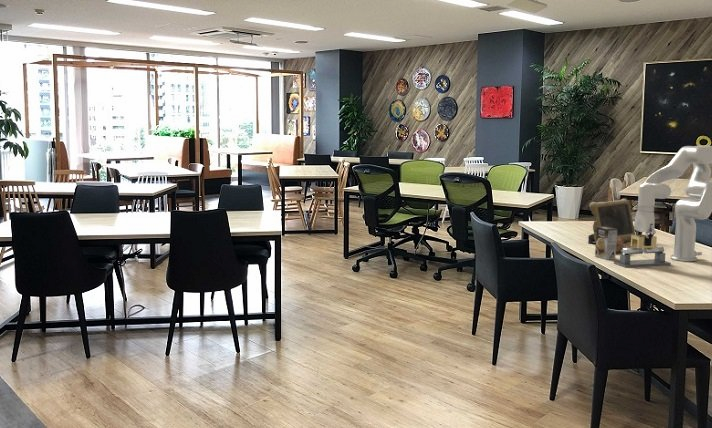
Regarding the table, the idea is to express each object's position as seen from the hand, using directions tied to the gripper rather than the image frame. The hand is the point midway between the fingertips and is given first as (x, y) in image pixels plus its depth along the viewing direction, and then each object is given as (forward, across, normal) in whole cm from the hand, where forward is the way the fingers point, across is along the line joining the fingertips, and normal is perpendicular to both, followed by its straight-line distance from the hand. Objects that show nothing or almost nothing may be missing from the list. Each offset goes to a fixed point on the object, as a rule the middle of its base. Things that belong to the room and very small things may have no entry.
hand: (643, 244), depth 330 cm
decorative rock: (+11, -32, +5) cm, 34 cm away
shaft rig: (+10, 0, 0) cm, 10 cm away
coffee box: (+11, -18, -9) cm, 23 cm away
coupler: (+1, 0, 0) cm, 1 cm away
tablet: (+10, -57, +21) cm, 61 cm away
